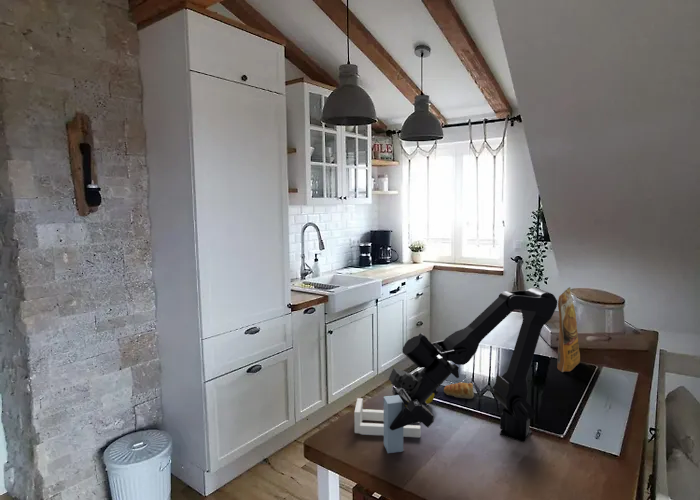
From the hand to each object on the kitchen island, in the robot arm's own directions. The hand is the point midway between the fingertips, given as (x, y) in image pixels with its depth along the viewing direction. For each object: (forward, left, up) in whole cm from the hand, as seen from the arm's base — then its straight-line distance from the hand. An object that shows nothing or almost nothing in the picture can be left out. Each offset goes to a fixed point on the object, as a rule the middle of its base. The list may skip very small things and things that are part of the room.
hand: (388, 424), depth 112 cm
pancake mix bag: (-23, -84, -7) cm, 88 cm away
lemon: (+4, -26, -7) cm, 27 cm away
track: (+5, -9, -7) cm, 12 cm away
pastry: (-2, -39, -7) cm, 40 cm away
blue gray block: (-1, -1, -7) cm, 7 cm away
